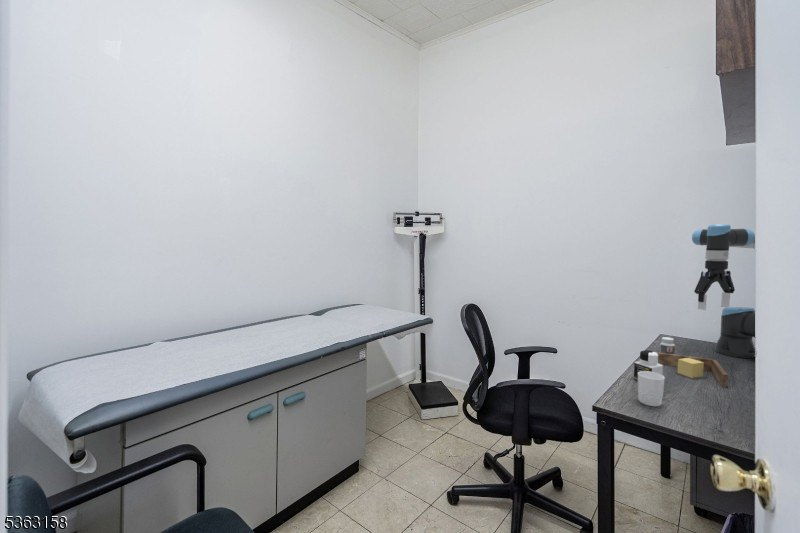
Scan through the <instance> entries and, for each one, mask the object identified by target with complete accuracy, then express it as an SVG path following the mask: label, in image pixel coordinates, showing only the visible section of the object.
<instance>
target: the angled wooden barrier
mask: <svg viewBox="0 0 800 533" xmlns="http://www.w3.org/2000/svg"><path fill="white" fill-rule="evenodd" d="M655 352H656V353H657V354H658V364H661V365H663V366H670V367H677V368H678V359H683V358H691V359H695V360H698V361H701V362H704V366H703V371H706V372H711V373H712V375H713V376H714V377H715V379H716V380H717V381H718V383H719V385H720V386H721V387H722V388H728V382H729V374H728V373H727V372H726V371H725V369H724V368H723V367H722V365H721V364H720V363H719V361H718V360H717V359H714V358H707V357H706V358H705V357H697V356H689V355H682V354H667V353H660V351H659V352H658V351H655Z"/></svg>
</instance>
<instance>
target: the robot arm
mask: <svg viewBox="0 0 800 533" xmlns="http://www.w3.org/2000/svg"><path fill="white" fill-rule="evenodd" d="M755 233H756V232H754V231H753V230H752V229H750V228H749V229H748V228H731V225H730V224H724V223H722V224H709V225H708V226H707V228H706V229H697V230H694V231H693V233H692V235H691V236H692V237H691V240H692V243H693V244H694V245H696V246H706V248H705V257H704V258H705V261H704V262H705V263H704V268H705V269H706V270H707V271H701V273H700V277H699V279H698V282H697V284H696V286H695V289H694V291H693V292H694V293H695V294H696V295H698V298H697V300H698V301H697V302H698V304H697V309H698V310H703V311H706V310H707V301H708V300H707V297H708V295H707V292H708V291H709V289H710V288H711V286H712V284H714V283H717V284H719V286H720V288H721V289H722V291H723V292H722V291H721V303H720V305H721V306H720V307H721V308H723V309H722V311H721V317H720V319H721V322H720V335H719V338H718V340H717V342H716V344H715V346H714V351H715V352H716V353H718V354H721V355H724V356H728V357H735V358H739V357H741V359H755V358H754V355H755V349H756V347H755V344H754V341H753V338H756V337H755V312H756V310H755V308H754V307H743V306H740V307H737V306H736V307H735V306H733V307H731V306H730V301H731V300H730V299H731V294H734V292H735V290H736V289H735V286H734V282H733V280H732V276H731V275H732V274H731V270H728V269H729V261H728V260H729V254H730V253H729V252H730V248H741V249H742V248H743V249H754V250H755ZM751 357H752V358H751Z"/></svg>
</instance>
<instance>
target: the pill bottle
mask: <svg viewBox="0 0 800 533" xmlns="http://www.w3.org/2000/svg"><path fill="white" fill-rule="evenodd" d="M674 342H675V339H674V338H673V337H666V336H663V337H661V342H660V346H659V353H667V354H675V352H676V351H675V349H676V344H675V343H674ZM675 355H676V354H675Z"/></svg>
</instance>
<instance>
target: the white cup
mask: <svg viewBox="0 0 800 533" xmlns="http://www.w3.org/2000/svg"><path fill="white" fill-rule="evenodd" d="M665 381H666V377H665V376H664V375H663V374H662V375H661V374H658V373H655V372H650V371H640V372H638V380H637V393H638V398H637V399H638V401H639V403H640V404H641V403H642V404H643V405H646V406H650V407H660V406H662V400H663V397H664V387H665Z"/></svg>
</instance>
